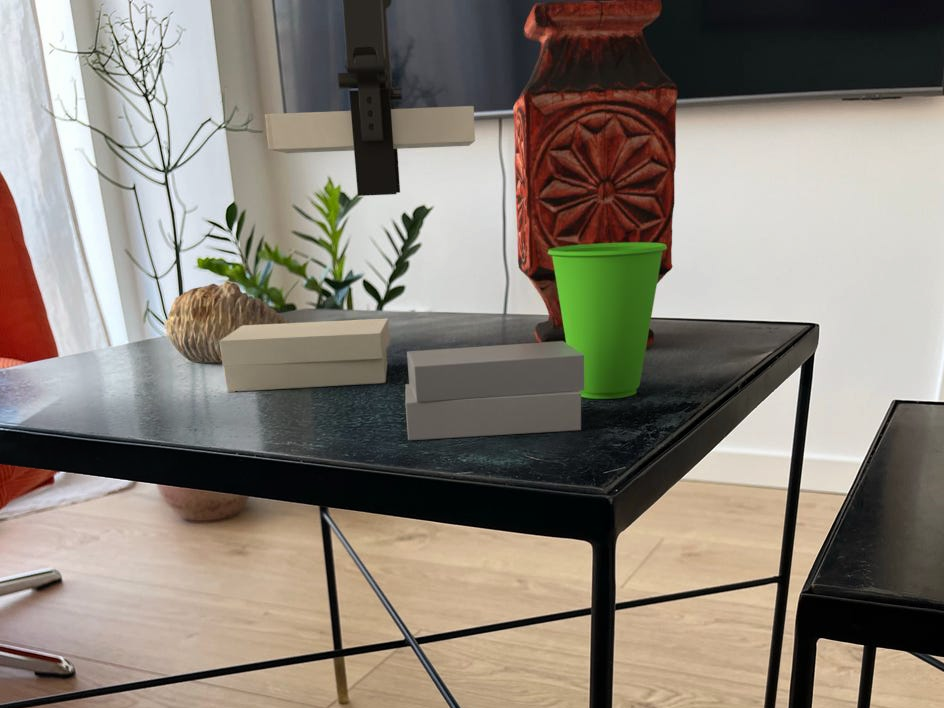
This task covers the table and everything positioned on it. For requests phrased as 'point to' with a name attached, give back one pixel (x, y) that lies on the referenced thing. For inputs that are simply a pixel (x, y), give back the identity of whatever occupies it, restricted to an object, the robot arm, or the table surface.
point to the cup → (608, 310)
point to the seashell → (213, 319)
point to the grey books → (494, 390)
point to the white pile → (305, 355)
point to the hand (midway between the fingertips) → (380, 194)
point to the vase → (592, 140)
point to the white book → (338, 136)
